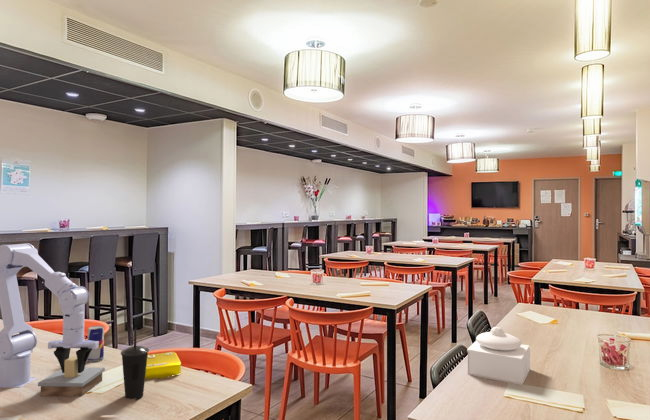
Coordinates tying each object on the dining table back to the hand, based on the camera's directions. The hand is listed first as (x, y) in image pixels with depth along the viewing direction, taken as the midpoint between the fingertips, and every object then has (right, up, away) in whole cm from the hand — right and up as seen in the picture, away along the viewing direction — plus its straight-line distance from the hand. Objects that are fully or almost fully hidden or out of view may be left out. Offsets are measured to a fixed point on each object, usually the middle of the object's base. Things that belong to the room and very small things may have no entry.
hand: (73, 371), depth 135 cm
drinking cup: (+21, -6, -5) cm, 22 cm away
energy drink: (-7, -6, +27) cm, 28 cm away
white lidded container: (+138, -8, +19) cm, 140 cm away
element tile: (+19, -6, +16) cm, 26 cm away
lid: (0, -2, 0) cm, 2 cm away
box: (0, -5, 0) cm, 5 cm away
